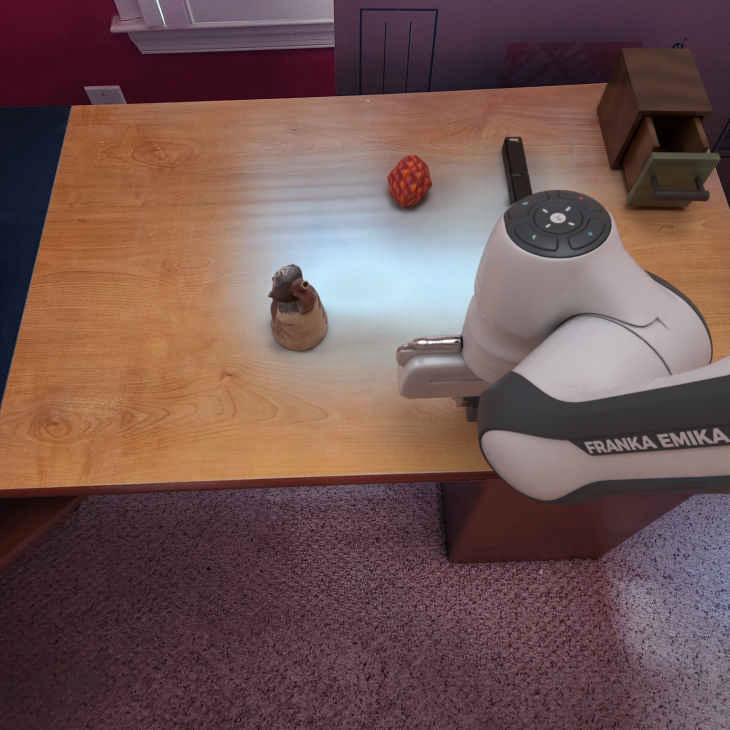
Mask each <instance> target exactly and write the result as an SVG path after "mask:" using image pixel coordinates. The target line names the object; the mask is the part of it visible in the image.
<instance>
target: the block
mask: <svg viewBox="0 0 730 730" xmlns="http://www.w3.org/2000/svg"><path fill="white" fill-rule="evenodd" d="M479 398H480V396H471V397H470V401H471V402H470V404H469V407H464V408H465V413H466V414H465V415H466V422H467V423H468V424H469V423H470V424H471V423H477V417H478V405H479Z"/></svg>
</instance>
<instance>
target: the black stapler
mask: <svg viewBox="0 0 730 730" xmlns="http://www.w3.org/2000/svg"><path fill="white" fill-rule="evenodd" d="M501 148H502V149H501V153H502V159H503V166H504V172H505V179H506V183H507V190H508V196H509V202H510V206H512V205H513V204H514V203H516V202H518V201H519V200H521V199H523V198H524V197H527V196H529V195H532V194H533V189H532V184H531V178H530V174H529V168H528V162H527V158H526V153H525V147H524V142H523V138H522V136H505V137H504V139H503V143H502V147H501Z"/></svg>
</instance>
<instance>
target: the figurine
mask: <svg viewBox="0 0 730 730" xmlns="http://www.w3.org/2000/svg"><path fill="white" fill-rule="evenodd" d="M271 280H272V288H271V291H269V293H268V295H267V298H271V299H272V301H271V304H270V316H271V320H270V326H271V333H272V335H273V337H274V339H275V340H276V341H277V342H278V343H279V344H280V345H281V346H283V347H284V348H286V349H288V350H292V351H307V350H310V349H313V348H315V347H316V346H317V345H319V343H321V342H322V340H323V339H324V337H325V336H326V334H327V330H328V326H329V325H328V324H329V323H328V316H327V312H326V310H325V307H324V305H323V303H322V300H321V297H320V294H319V292H318V291H317V290H316V289H315V287H314V286H313V285H311V284H310V283H309V281H308V280H304V276H303V272H302V269H301V268H300V266H299V265H296V264H294V263H290V264H288V265H285V266H283V267H281V268H279V269H277V270H276V272H274V275H273V277H272V278H271Z"/></svg>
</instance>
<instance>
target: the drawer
mask: <svg viewBox="0 0 730 730" xmlns="http://www.w3.org/2000/svg"><path fill="white" fill-rule="evenodd" d="M710 148H711V146H710V144H709V140H708V138H707V135H706V133H705V130H704V127H702V124H701V121H700V118H699V116H678V115H642V117H641V119H640V121H639V123H638V126H637V128H636V130H635V132H634V134H633V136H632V138H631V140H630V142H629V144H628V146H627V148H626V150H625V152H624V154H623V156H622V158H621V160H622V164H623V168H624V170H623V171H624V177H625V179H626V184H627V188H628V191H629V193H628V195H627V196H626V198H625V203H626V206H627V207H671V208H672V207H673V208H674V207H675V208H679V207H681V208H688V207H689V206H690V205H691V203H692V202H708V201H709V199H710V196H711V193H710V191H709V190H706V189H705V186H704V185H705V183H706V182H707V180H708V178H709V177H710V176H711V175H712V173H713V171H714V170H715V168H716V167H717V166H718V165H719V163H720V161H721V156H720V153H718V152H708V151H709V149H710Z"/></svg>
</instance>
